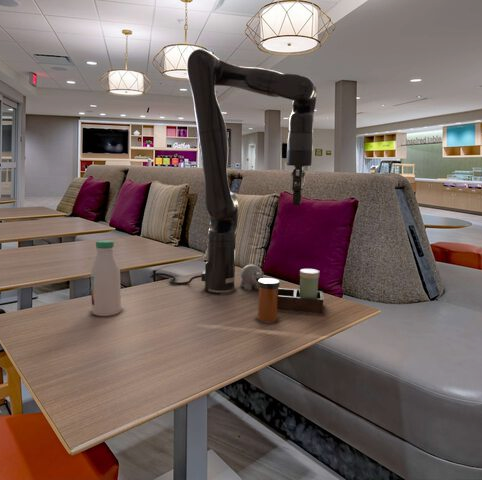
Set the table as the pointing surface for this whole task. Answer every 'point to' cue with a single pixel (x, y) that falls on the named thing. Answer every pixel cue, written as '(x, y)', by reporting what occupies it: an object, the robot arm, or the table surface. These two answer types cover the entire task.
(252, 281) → the chubby cartoon animal
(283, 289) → the jar stand
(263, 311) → the amber jar
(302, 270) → the green jar
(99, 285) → the milk bottle
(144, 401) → the table surface
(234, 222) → the robot arm
